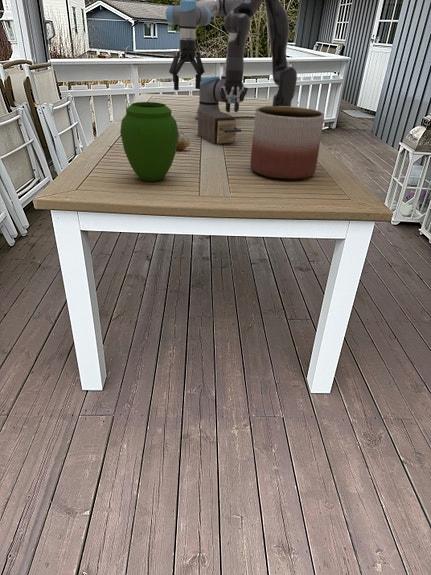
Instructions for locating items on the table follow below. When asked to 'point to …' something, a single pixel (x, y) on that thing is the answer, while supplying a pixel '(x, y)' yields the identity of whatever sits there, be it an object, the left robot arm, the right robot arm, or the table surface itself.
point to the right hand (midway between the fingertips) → (231, 111)
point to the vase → (149, 139)
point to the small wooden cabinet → (210, 123)
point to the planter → (286, 142)
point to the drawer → (226, 131)
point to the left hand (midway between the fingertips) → (187, 89)
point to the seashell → (182, 141)
